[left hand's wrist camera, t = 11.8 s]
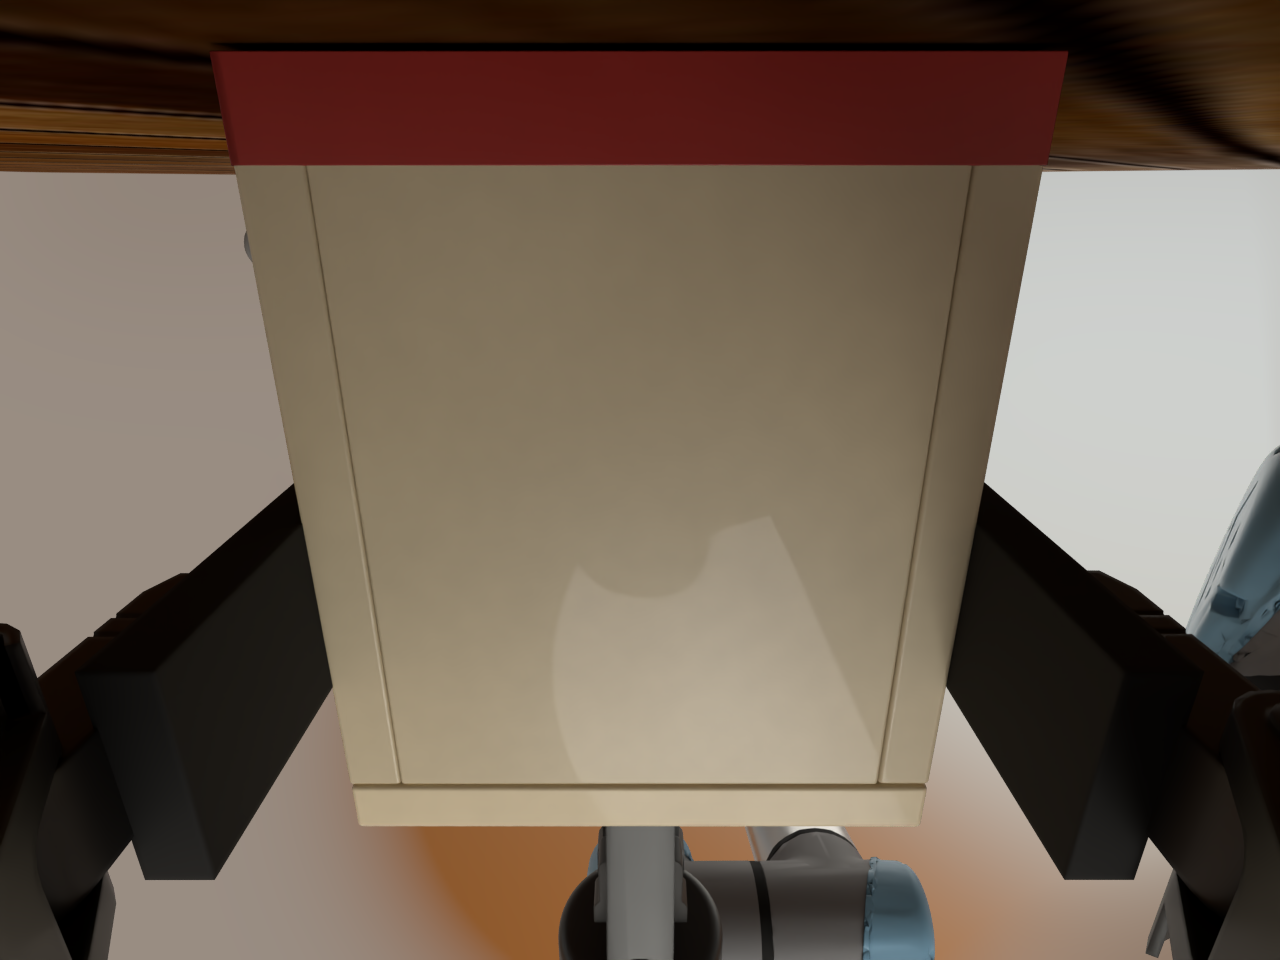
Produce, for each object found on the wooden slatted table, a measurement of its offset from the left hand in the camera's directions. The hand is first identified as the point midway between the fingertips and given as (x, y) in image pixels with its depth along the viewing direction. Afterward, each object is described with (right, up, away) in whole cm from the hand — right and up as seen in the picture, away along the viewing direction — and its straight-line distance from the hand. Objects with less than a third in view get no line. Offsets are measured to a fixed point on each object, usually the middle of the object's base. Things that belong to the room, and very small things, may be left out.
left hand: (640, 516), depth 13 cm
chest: (0, +8, +2) cm, 9 cm away
